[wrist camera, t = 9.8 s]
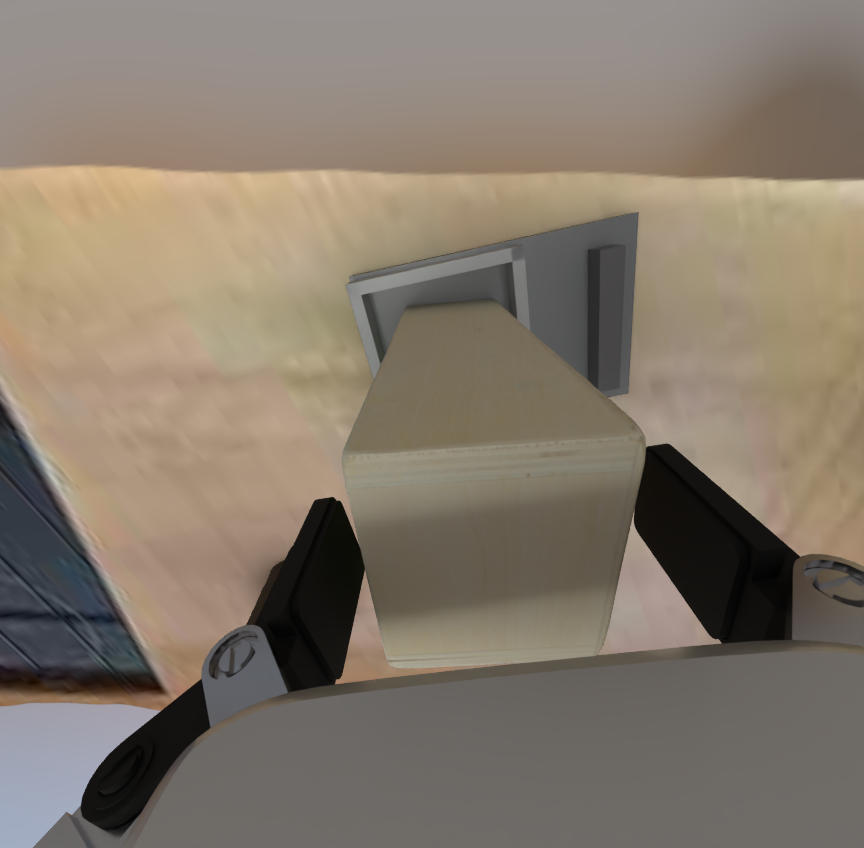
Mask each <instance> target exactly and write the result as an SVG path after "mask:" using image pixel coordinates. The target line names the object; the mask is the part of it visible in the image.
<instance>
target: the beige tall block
mask: <svg viewBox="0 0 864 848" xmlns="http://www.w3.org/2000/svg"><path fill="white" fill-rule="evenodd" d="M645 454H646V442H645V435H644V434H643V432H642V430H641V429H640V427H639V426H638V425H637V424H636V422H635V421H634V420H632V419H631V418H630V417H629V416H628V415H627V414H626V413H625V412H624V411H622V410H621V409H620V408H619V407H618V406H617V405H616V404H615V403H613V402H612V401H611V400H610V399H609V398H608V397H606V396H605V395H604V394H603V393H602V392H600V391H599V390H598V389H597V388H596V387H594V386H593V385H592V384H591V383H590V382H589V381H588V380H587V379H586V378H584V377H583V376H582V375H581V374H580V373H578V372H577V371H576V370H575V369H574V368H573V367H571V366H570V365H569V364H568V363H567V362H566V361H564V360H563V359H562V358H561V357H560V356H559V355H557V354H556V353H555V352H554V351H553V350H552V349H550V348H549V347H548V346H547V345H546V344H545V343H543V342H542V341H541V340H540V339H539V338H537V337H536V336H535V335H534V334H533V333H532V332H531V331H530V330H528V329H527V328H526V327H525V326H524V325H523V324H522V323H521V322H519V321H518V320H517V319H516V318H515V317H514V316H512V315H511V314H510V313H509V312H508V311H507V310H506V309H505V308H504V307H502V306H501V305H500V304H499V303H498V302H497V301H495V300H494V299H483V300H471V301H460V302H447V303H435V304H423V305H412V306H407V307H406V308H405V310H404V312H403V314H402V317H401V319H400V321H399V323H398V326H397V328H396V331H395V333H394V335H393V338H392V340H391V342H390V345H389V347H388V349H387V352H386V354H385V356H384V359H383V361H382V363H381V365H380V367H379V369H378V372H377V374H376V376H375V378H374V381H373V383H372V385H371V387H370V389H369V392H368V394H367V397H366V399H365V401H364V404H363V406H362V408H361V410H360V413H359V415H358V417H357V419H356V422H355V424H354V426H353V429H352V431H351V433H350V436H349V438H348V440H347V443H346V445H345V447H344V450H343V455H342V468H343V474H344V480H345V485H346V490H347V494H348V498H349V502H350V506H351V511H352V515H353V519H354V523H355V528H356V532H357V536H358V540H359V545H360V549H361V553H362V558H363V562H364V566H365V571H366V575H367V579H368V583H369V588H370V592H371V596H372V600H373V604H374V608H375V613H376V617H377V621H378V626H379V630H380V635H381V639H382V644H383V648H384V651H385V655H386V659H387V662H388V663H389V664H390V665H391V666H392V667H396V668H431V667H447V666H468V665H488V664H508V663H528V662H539V661H549V660H559V659H568V658H578V657H588V656H597V655H598V653H599V651H600V650H601V648H602V646H603V645H604V641H605V638H606V634H607V631H608V627H609V623H610V618H611V613H612V608H613V604H614V599H615V594H616V589H617V585H618V580H619V575H620V570H621V566H622V561H623V557H624V552H625V548H626V544H627V539H628V535H629V530H630V526H631V521H632V517H633V513H634V508H635V504H636V499H637V495H638V490H639V486H640V481H641V477H642V472H643V468H644V463H645Z"/></svg>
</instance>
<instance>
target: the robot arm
mask: <svg viewBox="0 0 864 848" xmlns="http://www.w3.org/2000/svg"><path fill="white" fill-rule="evenodd" d="M634 524H635V528H636V530H637V532H638V533H639V535H640V536H641V538H642V539H643V541H644V542H645V543H646V545H647V546H648V548H649V549H650V551H651V552H652V553H653V555H654V556H655V558H656V559H657V561H658V562H659V564H660V565H661V566H662V568H663V569H664V571H665V572H666V574H667V575H668V576H669V578H670V579H671V581H672V582H673V584H674V585H675V587H676V588H677V589H678V591H679V592H680V594H681V595H682V597H683V598H684V599H685V601H686V602H687V604H688V605H689V607H690V608H691V609H692V611H693V612H694V614H695V615H696V617H697V618H698V620H699V621H700V622H701V624H702V625H703V627H704V628H705V630H706V631H707V632H708V634H709V635H710V636H711V637H712V638H714V639H719V640H720V641H721V643H722V644H713V645H701V646H689V647H678V648H668V649H658V650H648V651H638V652H628V653H618V654H608V655H598V656H588V657H578V658H568V659H559V660H549V661H539V662H530V663H520V664H511V665H501V666H492V667H483V668H473V669H464V670H455V671H446V672H437V673H428V674H419V675H410V676H401V677H392V678H383V679H374V680H366V681H359V682H351V683H343V684H336V685H335V682H336V679H340V678H341V676H342V673H343V668H344V664H345V659H346V655H347V650H348V645H349V641H350V636H351V631H352V627H353V622H354V617H355V613H356V608H357V604H358V599H359V594H360V590H361V585H362V580H363V576H364V571H365V566H364V562H363V558H362V553H361V549H360V547H359V544H358V542H357V539H356V537H355V534H354V532H353V530H352V527H351V525H350V522H349V520H348V517H347V515H346V512H345V510H344V507H343V505H342V503H341V501H336V499H335V498H334V497H330V498H323V499H317V500H315V501H314V502H313V505H312V507H311V509H310V511H309V513H308V515H307V517H306V519H305V522H304V524H303V526H302V528H301V530H300V532H299V534H298V537H297V539H296V541H295V543H294V545H293V546H292V547H291V549H290V550H289V552H288V555H287V557H286V559H285V561H284V563H283V565H282V567H281V569H280V571H279V574H278V576H277V578H276V580H275V582H274V584H273V586H272V588H271V591H270V593H269V595H268V597H267V599H266V601H265V603H264V605H263V607H262V610H261V612H260V614H259V616H258V618H257V620H256V622H255V624H254V625H245V626H242V627H239V628H236V629H235V630H233V631H231V632H230V633H228V634H227V635H225V636H224V637H223V638H222V639H221V640H219V641H218V642H217V644H216V645H215V646H214V647H213V648H212V649H211V651H210V652H209V654H208V656H207V657H206V659H205V661H204V664H203V667H202V677H201V678H202V679H201V680H199V681H198V682H197V683H196V684H194V685H193V686H192V687H191V688H189V689H188V690H187V691H186V692H184V693H183V694H182V695H181V696H179V697H178V698H177V699H176V700H174V701H173V702H172V703H171V704H169V705H168V706H167V707H166V708H164V709H163V710H162V711H161V712H159V713H158V714H157V715H156V716H154V717H153V718H152V719H151V720H149V721H148V722H147V723H146V724H144V725H143V726H142V727H141V728H139V729H138V730H137V731H136V732H134V733H133V734H132V735H131V736H129V737H128V738H127V739H126V740H125V741H123V742H122V743H121V744H120V745H119V746H117V747H116V748H115V749H114V750H113V751H112V752H111V753H110V754H109V755H108V756H107V757H106V758H105V760H104V761H103V762H102V763H101V765H100V766H99V767H98V768H97V770H96V772H95V773H94V774H93V776H92V778H91V779H90V781H89V783H88V785H87V787H86V789H85V792H84V794H83V797H82V802H81V806H80V807H79V808H78V809H77V810H76V811H75V812H74V814H73V815H71V814H69V813H67V812H66V813H65V814H64V815H63V816H62V817H61V818H60V820H59V821H58V822H57V823H56V824H55V825H54V826H53V827H52V828H51V829H50V830H49V831H48V832H47V833H46V834H45V836H44V837H43V838H42V839H41V840H40V841H39V842H38V843H37V844H36V845H35V846H34V847H33V848H864V567H863V566H861V565H859V564H857V563H855V562H852V561H849V560H846V559H843V558H840V557H835V556H830V555H825V554H810V555H805V556H801V557H800V556H799V555H798V554H796V553H795V552H794V551H793V550H792V549H791V548H790V547H788V546H787V545H786V544H785V543H784V542H783V541H781V540H780V539H779V538H778V537H777V536H776V535H774V534H773V533H772V532H771V531H770V530H769V529H768V528H766V527H765V526H764V525H763V524H762V523H761V522H759V521H758V520H757V519H756V518H755V517H754V516H752V515H751V514H750V513H749V512H748V511H747V510H746V509H744V508H743V507H742V506H741V505H740V504H739V503H737V502H736V501H735V500H734V499H733V498H732V497H730V496H729V495H728V494H727V493H726V492H725V491H723V490H722V489H721V488H720V487H719V486H718V485H716V484H715V483H714V482H713V481H712V480H711V479H710V478H708V477H707V476H706V475H705V474H704V473H703V472H701V471H700V470H699V469H698V468H697V467H696V466H694V465H693V464H692V463H691V462H690V461H689V460H688V459H686V458H685V457H684V456H683V455H682V454H681V453H679V452H678V451H677V450H676V449H675V448H674V447H672V446H671V445H670V444H661V445H655V446H648V447H646V454H645V463H644V468H643V472H642V477H641V481H640V486H639V490H638V495H637V499H636V504H635V511H634Z"/></svg>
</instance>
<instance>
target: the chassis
mask: <svg viewBox="0 0 864 848" xmlns="http://www.w3.org/2000/svg"><path fill="white" fill-rule="evenodd" d="M638 213H639V212H637V213H630V214H625V215H621V216H616V217H612V218H607V219H603V220H598V221H594V222H590V223H585V224H581V225H576V226H572V227H567V228H563V229H558V230H554V231H549V232H545V233H541V234H536V235H532V236H527V237H523V238H518V239H514V240H509V241H505V242H500V243H496V244H492V245H487V246H483V247H478V248H474V249H469V250H465V251H460V252H456V253H451V254H447V255H443V256H438V257H434V258H429V259H425V260H420V261H416V262H411V263H407V264H402V265H398V266H394V267H389V268H385V269H380V270H376V271H371V272H367V273H362V274H358V275H353V276H351V277H349V279H350V283H348V284H346V288H347V291H348V295H349V298H350V302H351V305H352V308H353V312H354V315H355V319H356V322H357V325H358V329H359V332H360V336H361V339H362V342H363V346H364V349H365V352H366V356H367V359H368V363H369V366H370V369H371V373H372V376H373V380H374V378H375V376H376V374H377V372H378V369H379V367H380V365H381V363H382V361H383V359H384V356H385V354H386V352H387V349H388V347H389V345H390V342H391V340H392V338H393V335H394V333H395V331H396V328H397V326H398V323H399V321H400V319H401V317H402V314H403V312H404V310H405V308H406V307H407V306H412V305H423V304H435V303H447V302H460V301H471V300H483V299H494V300H495V301H497V302H498V303H499V304H500V305H501V306H502V307H504V308H505V309H506V310H507V311H508V312H509V313H510V314H511V315H512V316H514V317H515V318H516V319H517V320H518V321H519V322H521V323H522V324H523V325H524V326H525V327H526V328H527V329H528V330H530V331H531V332H532V333H533V334H534V335H535V336H536V337H537V338H539V339H540V340H541V341H542V342H543V343H545V344H546V345H547V346H548V347H549V348H550V349H552V350H553V351H554V352H555V353H556V354H557V355H559V356H560V357H561V358H562V359H563V360H564V361H566V362H567V363H568V364H569V365H570V366H571V367H573V368H574V369H575V370H576V371H577V372H578V373H580V374H581V375H582V376H583V377H584V378H586V379H587V380H588V381H589V382H590V383H591V384H592V385H593V386H594V387H596V388H597V389H598V390H599V391H600V392H602V393H603V394H604V395H605V396H606V397H611V396H616V395H622V394H627V393H628V387H629V370H630V352H631V335H632V318H633V300H634V283H635V265H636V248H637V230H638Z"/></svg>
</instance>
